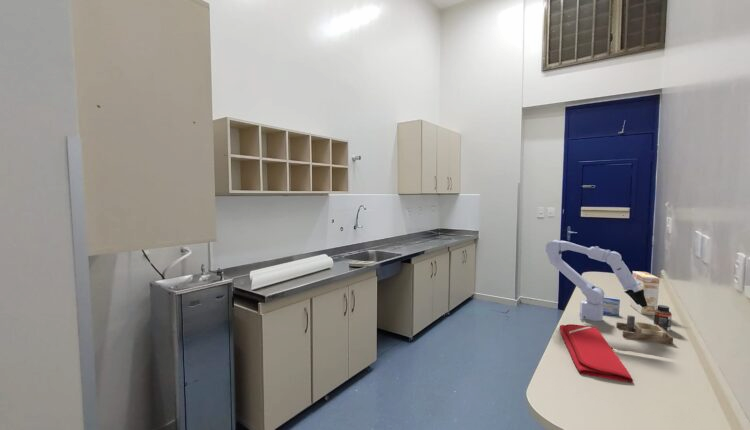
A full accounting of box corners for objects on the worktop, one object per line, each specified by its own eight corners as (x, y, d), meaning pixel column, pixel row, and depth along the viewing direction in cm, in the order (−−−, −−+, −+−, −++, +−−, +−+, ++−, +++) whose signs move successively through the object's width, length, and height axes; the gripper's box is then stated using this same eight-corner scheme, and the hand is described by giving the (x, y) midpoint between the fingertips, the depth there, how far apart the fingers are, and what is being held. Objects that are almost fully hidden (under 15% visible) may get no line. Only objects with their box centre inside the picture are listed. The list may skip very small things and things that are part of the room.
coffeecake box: (657, 316, 173) (660, 278, 172) (640, 314, 175) (643, 276, 174) (644, 306, 187) (647, 271, 186) (629, 305, 190) (631, 270, 188)
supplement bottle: (673, 334, 151) (675, 309, 150) (658, 332, 152) (660, 307, 151) (664, 328, 157) (666, 304, 156) (650, 327, 158) (652, 303, 157)
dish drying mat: (578, 375, 116) (578, 364, 115) (558, 329, 154) (558, 321, 154) (633, 384, 110) (634, 373, 110) (598, 335, 149) (599, 327, 149)
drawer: (629, 336, 144) (630, 319, 143) (623, 328, 152) (624, 312, 152) (665, 342, 139) (666, 324, 138) (657, 334, 147) (658, 317, 147)
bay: (617, 340, 143) (617, 331, 142) (608, 326, 157) (609, 318, 157) (674, 349, 135) (675, 340, 135) (659, 334, 150) (660, 325, 149)
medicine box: (600, 314, 174) (601, 297, 174) (598, 311, 178) (599, 295, 178) (619, 316, 171) (620, 299, 171) (616, 313, 176) (617, 297, 175)
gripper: (638, 274, 148) (657, 304, 144) (630, 272, 161) (647, 299, 158) (621, 280, 151) (639, 310, 147) (614, 278, 164) (630, 305, 160)
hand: (642, 305), depth 152 cm, fingers open, 7 cm apart
